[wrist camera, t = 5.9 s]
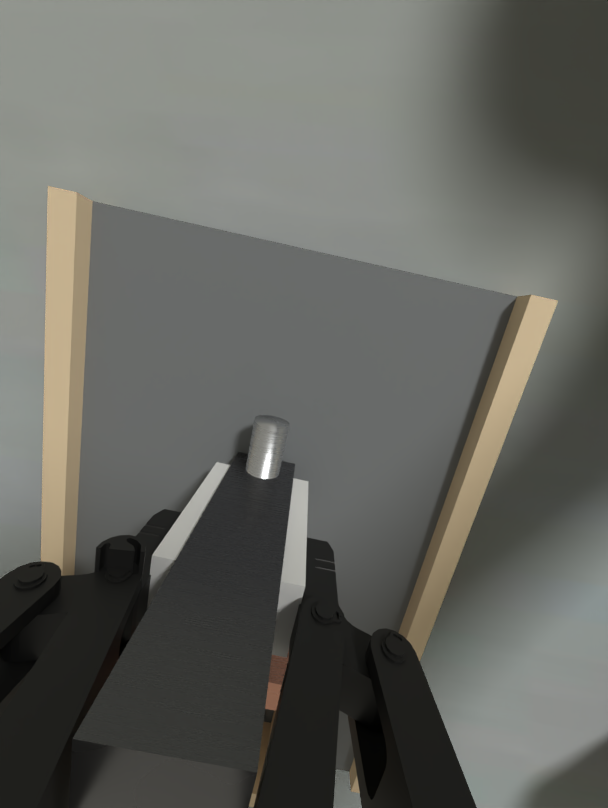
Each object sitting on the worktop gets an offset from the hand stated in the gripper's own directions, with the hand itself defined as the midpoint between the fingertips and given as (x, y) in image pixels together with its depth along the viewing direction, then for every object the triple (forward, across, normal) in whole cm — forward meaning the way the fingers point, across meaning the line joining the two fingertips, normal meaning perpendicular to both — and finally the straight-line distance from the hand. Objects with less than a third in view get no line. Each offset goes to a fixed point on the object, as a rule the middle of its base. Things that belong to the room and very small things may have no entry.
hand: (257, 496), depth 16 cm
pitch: (+3, 0, -4) cm, 5 cm away
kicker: (+1, 0, -3) cm, 3 cm away
